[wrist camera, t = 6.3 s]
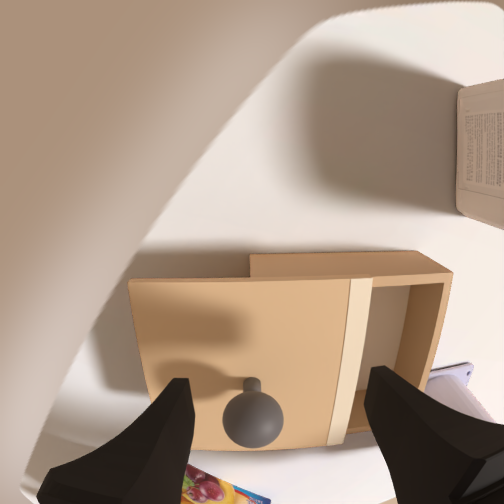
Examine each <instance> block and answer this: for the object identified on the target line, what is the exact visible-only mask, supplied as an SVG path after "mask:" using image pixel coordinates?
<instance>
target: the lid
mask: <svg viewBox="0 0 504 504" xmlns="http://www.w3.org/2000/svg"><path fill="white" fill-rule="evenodd" d="M372 283H373V278H372V277H371V276H370V275H369V274H354V275H326V276H291V277H246V278H131V279H130V280H129V281H128V282H127V284H128V291H129V297H130V304H131V310H132V316H133V321H134V327H135V332H136V338H137V343H138V348H139V353H140V357H141V362H142V367H143V371H144V376H145V380H146V384H147V388H148V392H149V396H150V400H151V404H152V402H153V401H154V400H155V399H156V398H157V397H158V396H159V394H160V393H161V392H162V391H163V390H164V388H165V387H166V386H167V385H168V383H169V382H170V381H171V380H172V379H173V378H189V382H190V388H191V394H192V399H193V404H194V410H195V427H194V436H193V441H192V445H191V449H192V450H215V451H259V450H282V449H297V448H308V447H318V446H331V445H338V444H343V442H344V438H345V434H346V430H347V426H348V422H349V418H350V413H351V409H352V404H353V400H354V395H355V390H356V386H357V381H358V375H359V370H360V365H361V359H362V354H363V348H364V342H365V335H366V329H367V322H368V315H369V308H370V300H371V292H372Z"/></svg>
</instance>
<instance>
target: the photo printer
mask: <svg viewBox="0 0 504 504" xmlns="http://www.w3.org/2000/svg"><path fill="white" fill-rule="evenodd" d="M456 207H457V210H458V211H460V212H461V213H462V214H463V215H465V216H466V217H469V218H471V219H474V220H477V221H480V222H483V223H485V224H488V225H491V226H494V227H497V228H499V229H502V230H504V79H500V80H495V81H491V82H486V83H482V84H477V85H473V86H468V87H465V88H461V89H460V90H459V92H458V99H457V173H456Z"/></svg>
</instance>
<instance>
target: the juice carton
mask: <svg viewBox="0 0 504 504" xmlns="http://www.w3.org/2000/svg"><path fill="white" fill-rule="evenodd" d="M181 504H271V500H270V499H268V498H265V497H262V496H260V495H257V494H254V493H252V492H249V491H247V490H244V489H242V488H240V487H237V486H235V485H232V484H230V483H228V482H225V481H223V480H221V479H219V478H217V477H214V476H212V475H210V474H208V473H206V472H204V471H202V470H200V469H198V468H196V467H194V466H192V465H190V464H188V463H187V467H186V471H185V476H184V481H183V486H182V495H181Z"/></svg>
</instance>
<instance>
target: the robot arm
mask: <svg viewBox="0 0 504 504" xmlns="http://www.w3.org/2000/svg"><path fill="white" fill-rule="evenodd" d="M473 368H474V365H473V364H472V363H467V364H463V365H459V366H455V367H450V368H446V369H441V370H436V371H432V372H430V374H429V377H428V381H427V384H426V387H425V390H424V393H423V392H422V391H420V390H419V389H417V388H416V387H415V386H413V385H412V384H410V383H409V382H407V381H406V380H405V379H403V378H402V377H401V376H399V375H398V374H396V373H395V372H394V371H392V370H391V369H389V368H388V367H387V366H385V365H383V366H376V367H371V370H370V375H369V380H368V385H367V390H366V395H365V399H364V404H363V405H364V408H365V412H366V416H367V419H368V422H369V425H370V428H371V430H372V432H373V434H374V437H375V439H376V441H377V443H378V446H379V448H380V450H381V452H382V454H383V457H384V459H385V461H386V464H387V466H388V469H389V472H390V475H391V479H392V482H393V486H394V489H395V494H396V498H397V502H398V504H504V425H502V424H497V423H496V422H495V420H494V419H493V418H492V417H491V416H490V414H489V413H488V412H487V411H486V409H485V408H484V407H483V406H482V404H481V403H480V402H479V401H478V400H477V398H476V397H475V396H474V395H473V394H472V392H471V391H470V390H469V389H468V388H467V384H468V382H469V379H470V376H471V374H472V371H473ZM194 427H195V410H194V404H193V399H192V394H191V388H190V382H189V378H173V379H172V380H171V381H170V382H169V383H168V385H167V386H166V387H165V388H164V390H163V391H162V392H161V393H160V394H159V396H158V397H157V398H156V399H155V400H154V401H153V402H152V404H151V405H150V406H149V407H148V408H147V409H146V410H145V411H144V412H143V413H142V414H141V415H140V416H139V417H138V418H137V419H136V420H135V421H134V422H133V423H132V424H131V425H130V426H129V427H127V428H126V429H125V430H124V431H123V432H121V433H120V434H119V435H118V436H116V437H115V438H113V439H112V440H110V441H109V442H107V443H106V444H104V445H103V446H101V447H99V448H98V449H96V450H94V451H93V452H91V453H89V454H87V455H85V456H83V457H81V458H78V459H76V460H74V461H71V462H69V463H66V464H63V465H60V466H58V467H55V468H51V469H50V470H49V472H48V474H47V475H46V477H45V479H44V481H43V483H42V485H41V487H40V489H39V491H38V493H37V496H36V497H37V499H38V502H39V503H40V504H181V495H182V486H183V481H184V476H185V471H186V467H187V463H188V458H189V454H190V450H191V445H192V441H193V436H194Z"/></svg>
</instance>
